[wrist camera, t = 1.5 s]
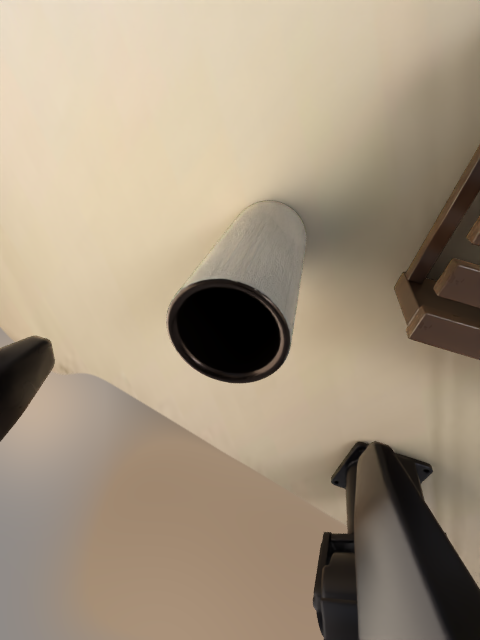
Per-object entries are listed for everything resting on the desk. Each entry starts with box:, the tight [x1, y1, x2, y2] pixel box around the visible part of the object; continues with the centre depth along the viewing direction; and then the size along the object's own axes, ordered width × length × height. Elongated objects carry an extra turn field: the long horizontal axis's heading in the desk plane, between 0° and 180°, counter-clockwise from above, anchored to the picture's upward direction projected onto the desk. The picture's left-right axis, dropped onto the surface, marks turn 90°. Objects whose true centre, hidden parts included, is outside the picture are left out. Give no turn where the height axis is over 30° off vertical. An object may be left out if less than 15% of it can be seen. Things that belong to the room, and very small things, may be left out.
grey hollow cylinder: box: [166, 201, 306, 383], centre depth 16 cm, size 4×4×10 cm
